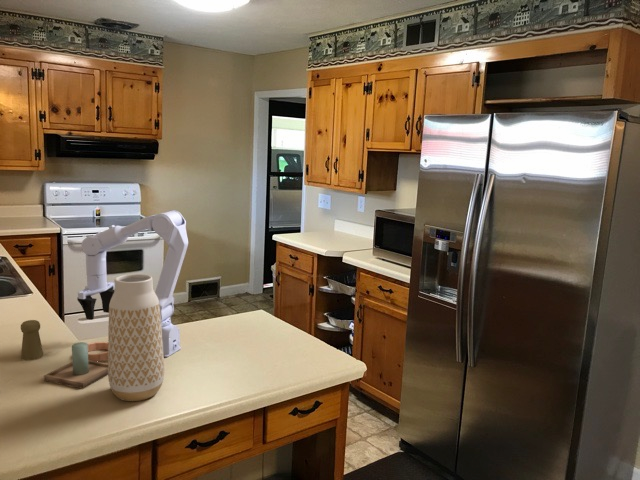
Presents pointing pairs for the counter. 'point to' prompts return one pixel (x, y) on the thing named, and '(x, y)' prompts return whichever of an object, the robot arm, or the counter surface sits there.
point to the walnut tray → (81, 381)
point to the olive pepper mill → (31, 340)
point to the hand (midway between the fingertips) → (98, 315)
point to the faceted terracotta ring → (98, 346)
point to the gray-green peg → (80, 358)
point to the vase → (135, 339)
